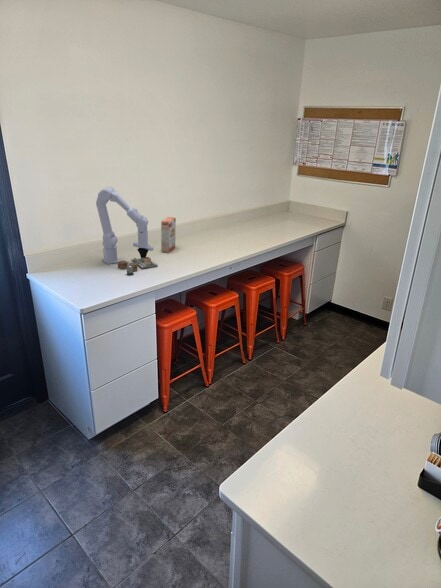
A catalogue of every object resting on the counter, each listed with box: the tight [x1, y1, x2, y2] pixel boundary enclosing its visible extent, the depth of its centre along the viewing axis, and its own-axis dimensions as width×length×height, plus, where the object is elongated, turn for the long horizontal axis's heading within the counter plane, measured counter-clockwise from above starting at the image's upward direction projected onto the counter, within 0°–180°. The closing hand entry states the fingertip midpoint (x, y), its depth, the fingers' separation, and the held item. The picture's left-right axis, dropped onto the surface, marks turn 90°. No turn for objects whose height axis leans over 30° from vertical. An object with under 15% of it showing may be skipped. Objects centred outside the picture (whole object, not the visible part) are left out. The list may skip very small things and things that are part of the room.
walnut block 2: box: [128, 262, 138, 273], centre depth 230 cm, size 4×4×4 cm
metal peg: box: [126, 264, 134, 276], centre depth 224 cm, size 4×4×5 cm
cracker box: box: [160, 216, 177, 254], centre depth 265 cm, size 14×6×21 cm, turn 168°
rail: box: [131, 257, 159, 270], centre depth 241 cm, size 16×10×2 cm, turn 34°
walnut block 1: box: [117, 259, 129, 271], centre depth 233 cm, size 4×4×4 cm
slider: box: [142, 256, 152, 265], centre depth 238 cm, size 4×4×4 cm
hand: (143, 259), depth 242 cm, fingers closed
